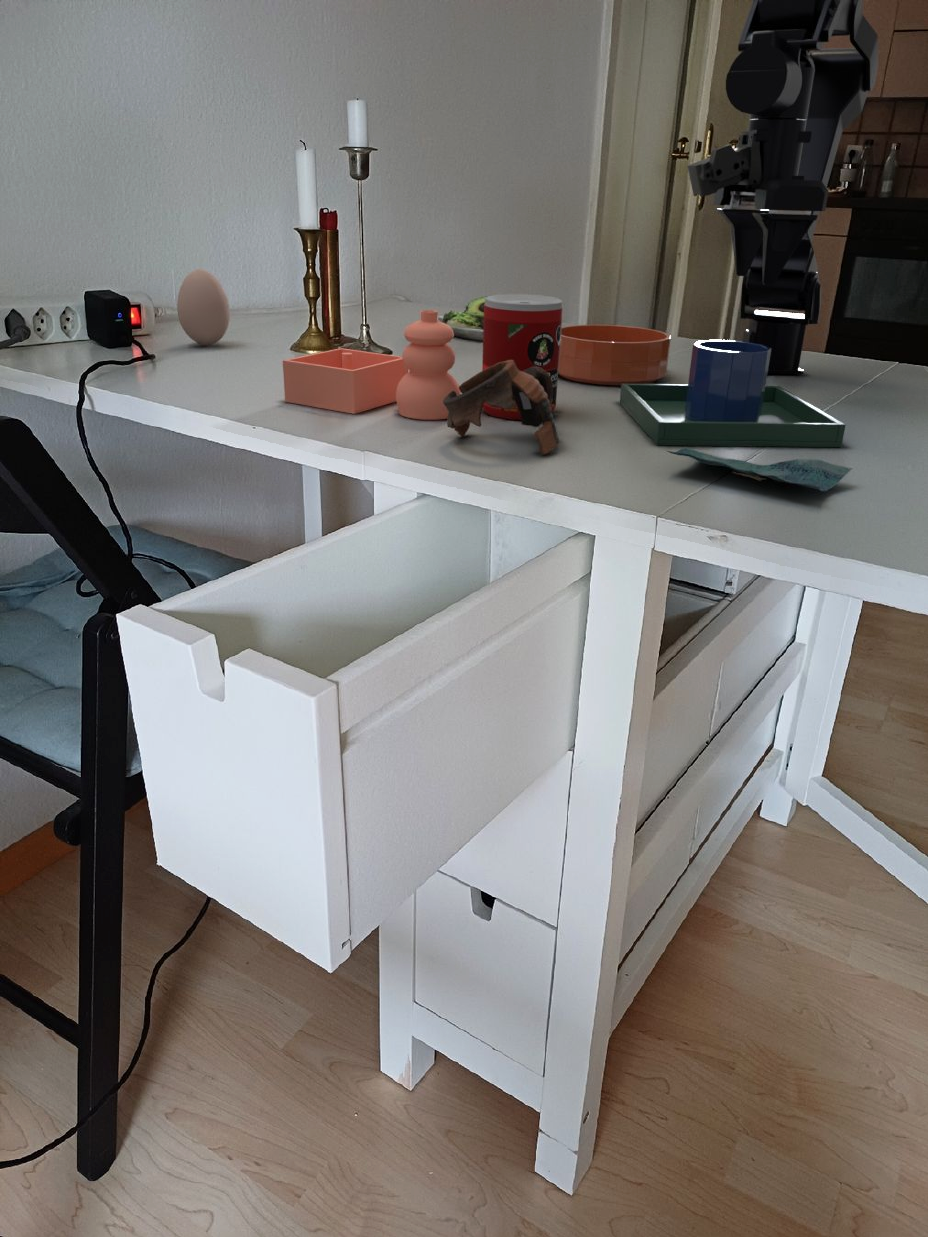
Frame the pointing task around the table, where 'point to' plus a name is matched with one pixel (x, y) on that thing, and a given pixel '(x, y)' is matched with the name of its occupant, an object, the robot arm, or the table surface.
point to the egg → (203, 307)
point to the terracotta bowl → (613, 354)
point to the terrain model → (779, 470)
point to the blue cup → (727, 381)
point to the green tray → (778, 424)
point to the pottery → (379, 375)
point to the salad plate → (467, 320)
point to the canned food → (522, 338)
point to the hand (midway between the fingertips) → (753, 279)
